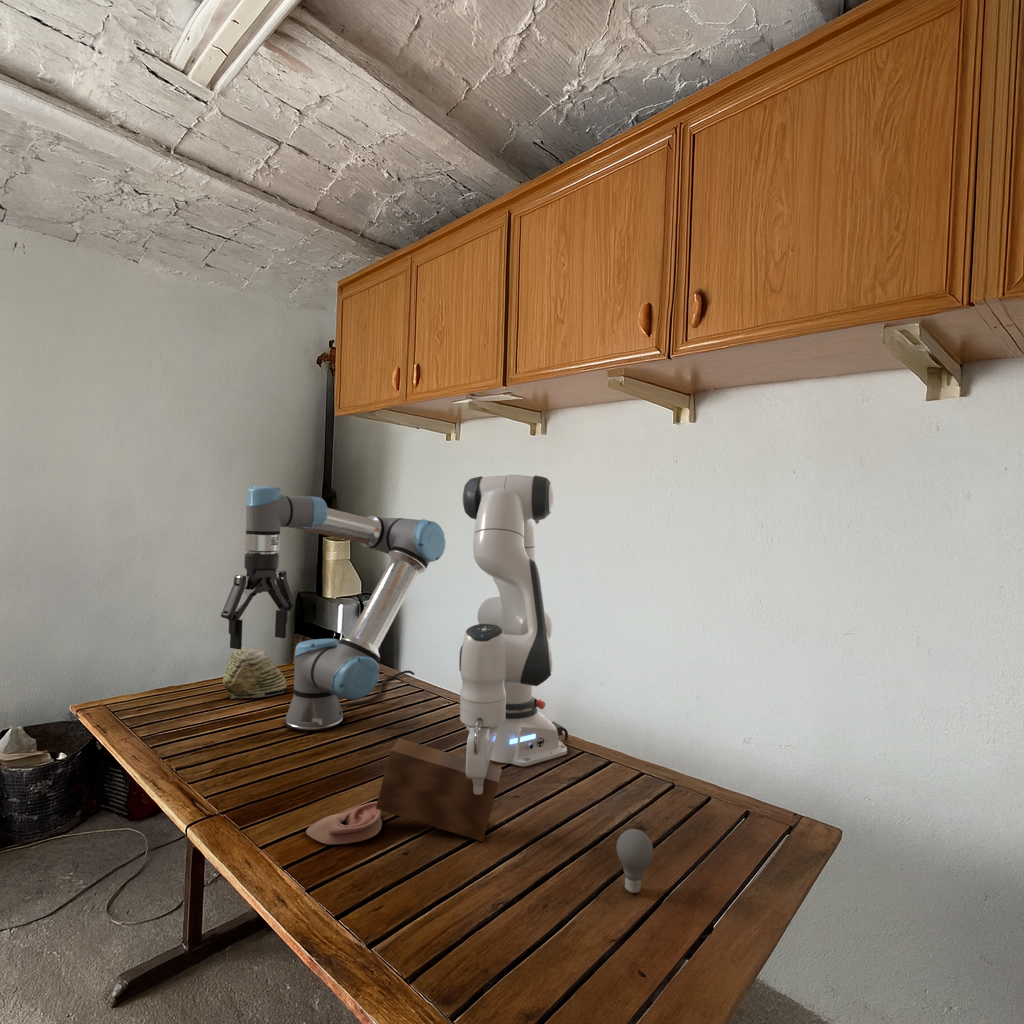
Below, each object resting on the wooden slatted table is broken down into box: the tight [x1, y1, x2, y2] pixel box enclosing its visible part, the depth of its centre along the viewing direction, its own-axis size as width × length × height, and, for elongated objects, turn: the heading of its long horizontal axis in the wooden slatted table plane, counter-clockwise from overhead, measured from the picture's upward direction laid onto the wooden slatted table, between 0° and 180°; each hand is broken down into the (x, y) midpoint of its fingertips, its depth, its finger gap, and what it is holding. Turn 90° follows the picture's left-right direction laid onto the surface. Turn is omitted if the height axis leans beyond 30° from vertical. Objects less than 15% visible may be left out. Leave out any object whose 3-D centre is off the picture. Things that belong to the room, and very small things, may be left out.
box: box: [376, 737, 502, 842], centre depth 123 cm, size 21×6×12 cm, turn 85°
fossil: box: [222, 646, 288, 699], centre depth 198 cm, size 9×18×15 cm, turn 132°
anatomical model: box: [305, 800, 384, 846], centre depth 121 cm, size 13×4×12 cm
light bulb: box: [615, 828, 654, 894], centre depth 106 cm, size 6×6×10 cm
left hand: (258, 642), depth 148 cm, fingers open, 13 cm apart
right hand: (481, 781), depth 123 cm, fingers open, 8 cm apart
